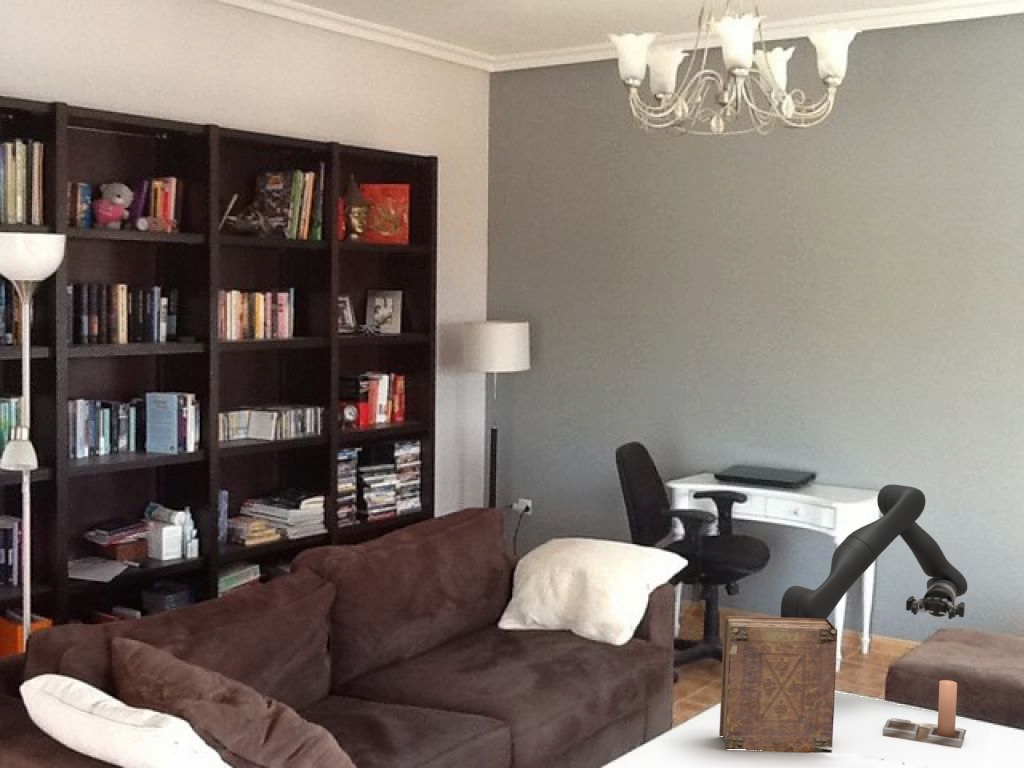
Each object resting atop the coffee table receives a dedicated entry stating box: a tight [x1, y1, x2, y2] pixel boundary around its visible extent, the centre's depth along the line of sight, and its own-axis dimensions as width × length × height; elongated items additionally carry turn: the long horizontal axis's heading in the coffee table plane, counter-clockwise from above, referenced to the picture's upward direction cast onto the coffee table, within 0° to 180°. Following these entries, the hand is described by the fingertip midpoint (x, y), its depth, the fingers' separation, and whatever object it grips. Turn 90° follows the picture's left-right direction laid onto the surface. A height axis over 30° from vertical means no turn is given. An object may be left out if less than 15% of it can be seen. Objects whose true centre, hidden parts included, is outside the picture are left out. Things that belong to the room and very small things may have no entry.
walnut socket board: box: [882, 717, 967, 749], centre depth 311 cm, size 18×14×3 cm
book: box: [718, 615, 838, 754], centre depth 304 cm, size 25×9×30 cm, turn 89°
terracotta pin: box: [937, 679, 958, 739], centre depth 306 cm, size 4×4×14 cm
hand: (932, 613), depth 322 cm, fingers open, 8 cm apart
